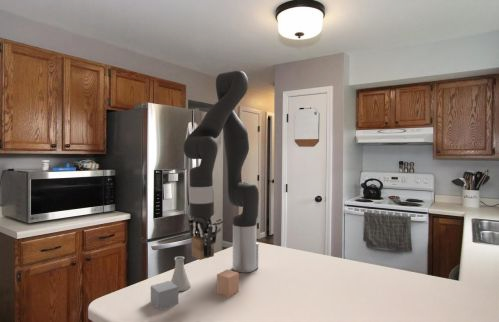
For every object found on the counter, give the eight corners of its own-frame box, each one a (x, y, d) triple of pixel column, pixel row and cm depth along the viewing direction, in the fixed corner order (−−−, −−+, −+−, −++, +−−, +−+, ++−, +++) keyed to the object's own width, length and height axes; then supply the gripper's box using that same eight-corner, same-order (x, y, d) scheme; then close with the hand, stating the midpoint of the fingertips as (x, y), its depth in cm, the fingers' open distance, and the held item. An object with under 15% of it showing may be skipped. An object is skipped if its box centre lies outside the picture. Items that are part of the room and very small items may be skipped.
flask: (185, 293, 99) (185, 262, 99) (164, 291, 100) (164, 260, 100) (193, 284, 106) (193, 255, 106) (174, 282, 107) (174, 253, 107)
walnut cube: (205, 252, 101) (205, 233, 100) (213, 256, 97) (213, 237, 97) (191, 255, 97) (191, 236, 97) (199, 259, 94) (199, 240, 93)
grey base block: (169, 296, 97) (169, 280, 97) (178, 303, 92) (178, 286, 92) (150, 302, 93) (150, 285, 93) (158, 309, 88) (158, 292, 88)
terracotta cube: (227, 287, 103) (227, 269, 103) (238, 291, 100) (238, 272, 100) (217, 292, 99) (217, 274, 99) (229, 296, 96) (229, 277, 96)
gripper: (224, 201, 93) (225, 257, 94) (200, 196, 104) (201, 246, 105) (203, 205, 89) (204, 263, 89) (179, 199, 100) (181, 251, 100)
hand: (202, 254), depth 97 cm, fingers closed on walnut cube, 5 cm apart
